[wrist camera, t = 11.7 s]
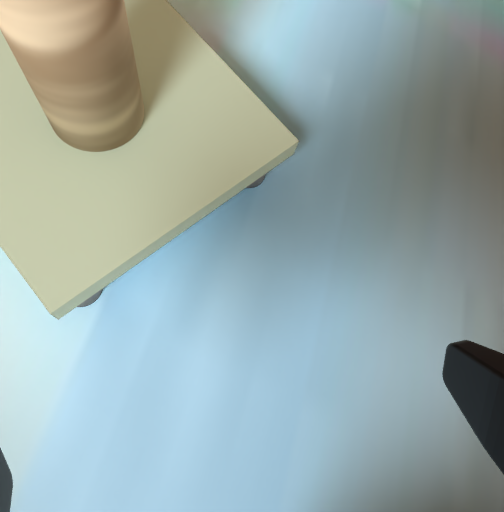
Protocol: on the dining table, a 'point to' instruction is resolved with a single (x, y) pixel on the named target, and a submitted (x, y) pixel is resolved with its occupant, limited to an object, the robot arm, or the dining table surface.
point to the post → (78, 67)
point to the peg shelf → (128, 163)
